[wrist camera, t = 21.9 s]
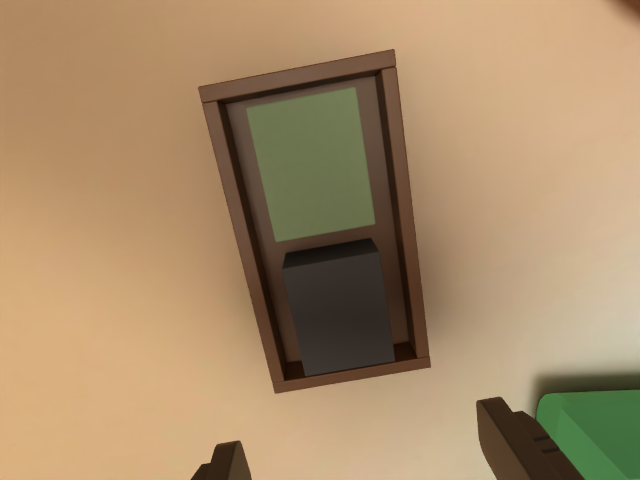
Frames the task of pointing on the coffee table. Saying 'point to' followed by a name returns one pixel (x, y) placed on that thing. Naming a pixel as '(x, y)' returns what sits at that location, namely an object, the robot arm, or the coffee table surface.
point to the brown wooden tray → (268, 255)
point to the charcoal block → (339, 306)
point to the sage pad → (313, 164)
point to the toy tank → (596, 431)
